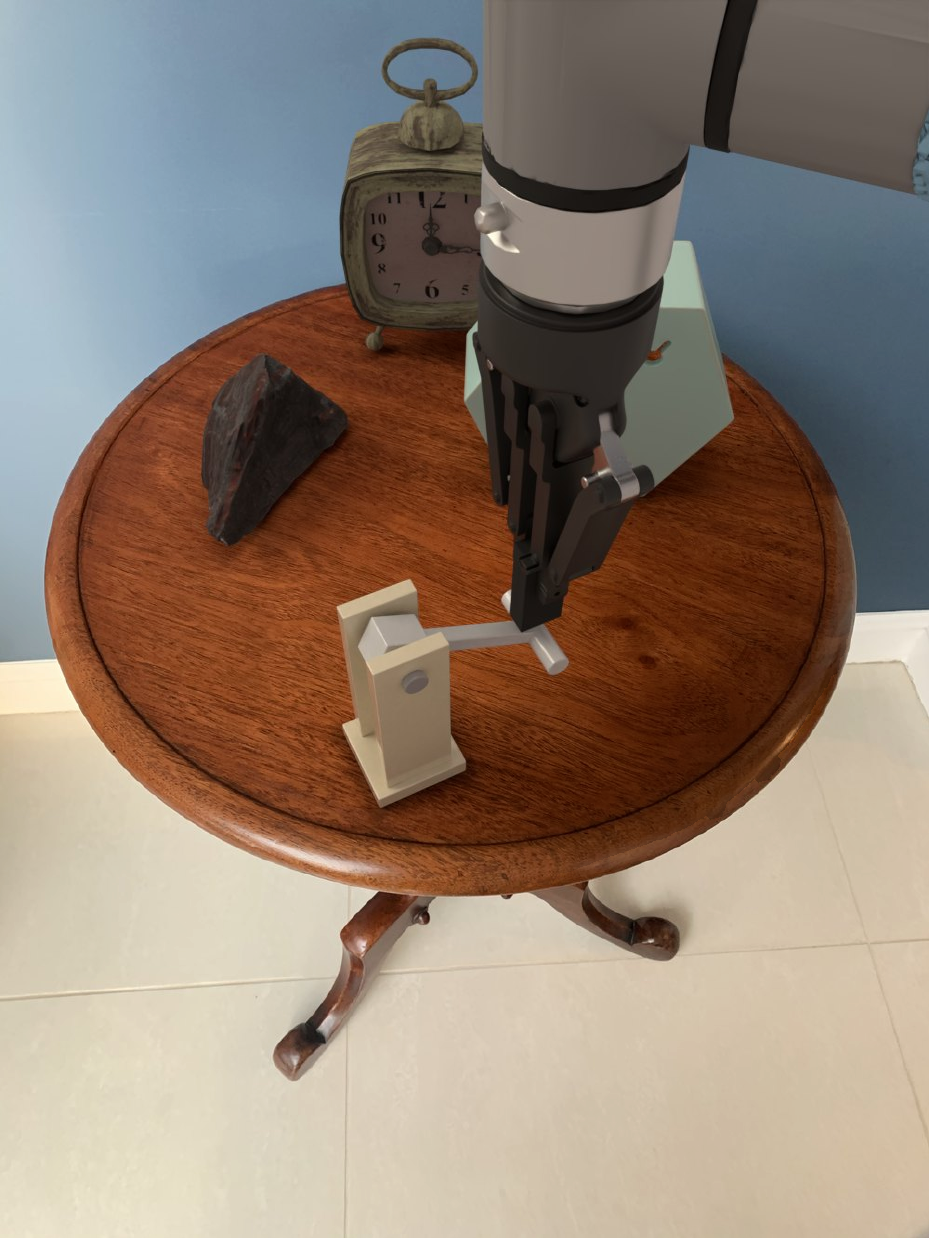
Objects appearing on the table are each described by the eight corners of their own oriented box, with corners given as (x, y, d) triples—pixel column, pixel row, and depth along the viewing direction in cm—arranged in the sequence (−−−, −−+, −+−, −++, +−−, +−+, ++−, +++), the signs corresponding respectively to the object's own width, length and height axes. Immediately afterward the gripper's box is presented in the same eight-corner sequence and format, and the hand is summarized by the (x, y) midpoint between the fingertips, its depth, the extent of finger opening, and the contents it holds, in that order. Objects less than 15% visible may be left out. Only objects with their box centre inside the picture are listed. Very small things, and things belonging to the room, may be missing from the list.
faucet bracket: (426, 698, 65) (419, 566, 54) (466, 770, 62) (467, 645, 51) (343, 733, 64) (318, 604, 53) (380, 808, 61) (362, 688, 49)
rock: (359, 423, 81) (349, 332, 74) (232, 568, 72) (206, 481, 65) (286, 395, 84) (269, 304, 76) (154, 533, 74) (120, 444, 67)
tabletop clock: (352, 362, 86) (319, 64, 66) (361, 300, 92) (333, 7, 72) (515, 365, 86) (533, 67, 66) (515, 303, 92) (530, 10, 71)
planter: (593, 469, 85) (776, 300, 71) (598, 536, 80) (795, 369, 66) (428, 381, 78) (595, 173, 64) (423, 448, 73) (602, 240, 59)
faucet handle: (512, 608, 62) (527, 581, 60) (559, 679, 59) (577, 652, 57) (343, 621, 55) (357, 591, 53) (386, 703, 52) (402, 673, 50)
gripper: (418, 204, 42) (431, 561, 60) (573, 385, 35) (533, 724, 54) (571, 164, 44) (537, 521, 62) (746, 327, 37) (648, 674, 56)
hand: (535, 615), depth 58 cm, fingers closed
